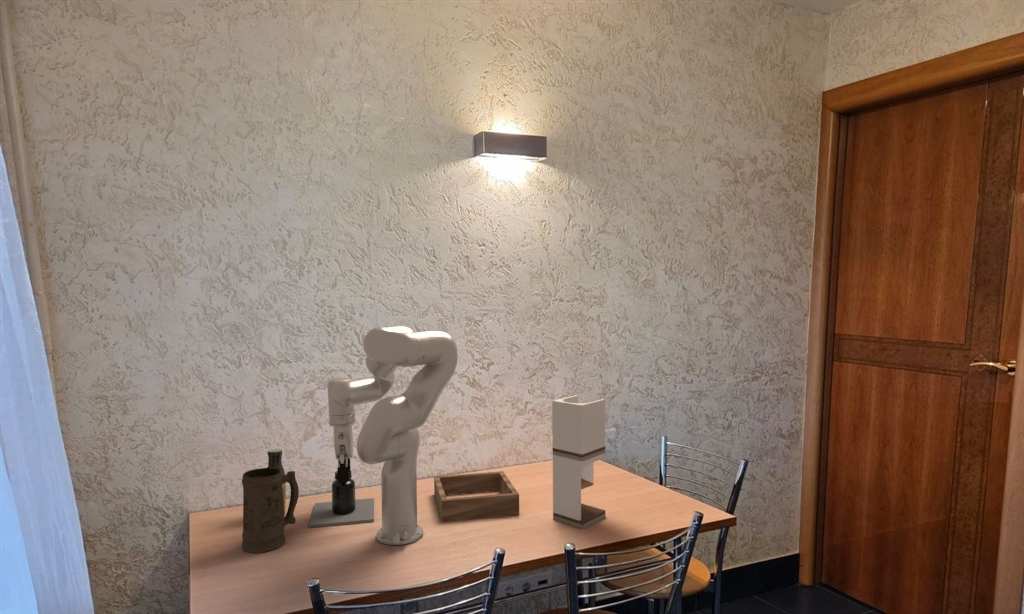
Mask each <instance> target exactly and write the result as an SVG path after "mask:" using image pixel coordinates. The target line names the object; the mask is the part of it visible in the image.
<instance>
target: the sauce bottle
mask: <svg viewBox="0 0 1024 614" xmlns="http://www.w3.org/2000/svg"><path fill="white" fill-rule="evenodd" d="M282 455H283V450H282V448H273V449H269V450H268V451H267V457H268V464H267V467H266V468H277V469H280V470H281V472H282V476H284V475H286V472H285V469H284V467H283V462H282ZM286 483H287V482H285V483H284V484H283V485H282V491H283V495H284V515H286V504H287V503H286V498H287V496H286V495H287V494H286V491H287V490H286V488H287V487H286Z"/></svg>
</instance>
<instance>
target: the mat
mask: <svg viewBox="0 0 1024 614" xmlns="http://www.w3.org/2000/svg"><path fill="white" fill-rule="evenodd" d="M374 519H375V498H374V497H372V498H370V497H369V498H360V499H355V510H354V511H353V512H352V513H349V514H345V515H337V514H334V513H333V512H332V501H326V502H315V503H314V507H313V511H312V514H311V517H310V521H309V526H308V527H309V529H310V528H311V527H314V528H321V527H320V526H325V527H333V526H332V525H335V526H341V525H340V524H346V525H353V524H352V523H357V524H366V523H365V522H367V523H374V522H375V521H374ZM350 523H351V524H350ZM311 529H312V528H311Z"/></svg>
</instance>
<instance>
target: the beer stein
mask: <svg viewBox="0 0 1024 614" xmlns="http://www.w3.org/2000/svg"><path fill="white" fill-rule="evenodd" d="M285 482H286V483H288V484H289V486H290V487H289V488H290V496H289V497H290V498H289V503H288V509H287V511H286V513H285V514H284V495H283V491H282V485H283V484H284V483H285ZM241 484H242V488H243V489H242V490H243V492H242V493H243V494H242V495H243V498H242V501H243V504H242V505H243V507H242V525H243V526H242V536H241V537H242V543H241V548H242V550H243V551H245V552H247V553H251V554H252V553H253V554H256V553H257V554H261V553H267V551H268V552H270V551H274V550H277V549H279V548H280V547H282V546H283V545H284V544H285V543H286V537H285V527H286V526H288V525H295V524H296V522H297V521H296V517H295V515H294V512H295V509H296V506H297V504H298V501H299V494H300V493H299V486H298V485H299V484H298V482H297V479H296V472H295V470H292V471H291V470H289V471H287V473H285V475H284V476H282V472H281V470H280V469H277V468H267V467H261V468H255V469H251V470H247V471H245V472H244V473H243V474H242V478H241ZM276 548H277V549H276Z"/></svg>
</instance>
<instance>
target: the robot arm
mask: <svg viewBox="0 0 1024 614" xmlns="http://www.w3.org/2000/svg"><path fill="white" fill-rule="evenodd" d="M362 343H363V344H362V345H363V350H364V354H366V358H365V365H366V368H367V369H368V371H369V372H370V374H372V375H371V376H367V377H359V378H354V379H351V378H350V377H338V378H337V377H336V378H332V379H329V381H328V382H327V399H328V400H327V401H328V402H327V403H328V425H329V427H333V444H334V445H333V446H334V453H335V459H336V460H337V470H336V471H337V472H338V481H346V480H349V470H351V459H353V457H354V439H353V438H354V437H353V436H354V435H353V433H354V432H353V426H352V425H354V424H356V415H355V414H356V412H355V410H356V409H355V406H358V405H361V404H367V403H369V404H370V403H373V402H375V404H373V406H372V408H371V410H370V411H369V413H368V414H367V417H366V419H365V421H364V423H363V425H362V427H361V429H360V432H359V434H358V437H357V441H356V453H357V455H358V457H359V459H360V461H362V462H363V463H365V464H367V465H375V464H381V463H383V464H382V465H383V466H382V469H381V474H380V475H381V481H380V482H381V485H380V487H381V488H380V489H381V491H380V492H381V528H380V529H378V530H377V532H376V537H375V538H376V540H377V541H378V542H379V543H381V544H383V545H388V546H389V545H391V546H401V545H408V544H411V543H414V542H416V541H418V540H420V539H421V538H422V537H423V535H424V529H423V527H421V526H420V525H419V524H418V495H417V494H418V491H417V490H418V489H417V487H418V485H417V482H418V480H417V479H418V478H417V476H418V475H417V474H418V473H417V470H418V469H417V465H418V453H419V449H420V443H421V436H420V432H419V428H420V427H422V426H424V425H425V423H426V422H427V421H428V419H429V417H430V416H431V414H432V411H433V409H434V408H435V406H436V404H437V402H438V401H439V398H440V396H441V394H442V392H443V391H444V390H445V388H446V387H447V385H448V383H449V382H450V380H451V379H452V377H453V375H454V374H455V371H456V368H457V364H458V356H459V355H458V347H457V344H456V341H455V339H454V338H453V337H452V336H451V335H450V334H448V333H447V332H444V331H442V330H425V331H415V332H414V330H412V328H410V327H408V326H405V325H389V326H377V327H374V328H371V329H370V330H368V332H367V333H366V334H365V336H364V339H363V342H362ZM417 366H423V367H421V369H420V370H419V371H417V372H416V374H415V375H414V376H413V377H412V379H411V380H410V383H409V384H408V386H407V388H406V390H405V391H404V392H402V393H400V394H398V395H393V396H389V397H385V395H387V393H389V391H390V390H391V389H392V387H393V386H394V384H395V383H394V382H395V371H396V370H397V369H398V368H399V367H400V368H407V367H408V368H410V367H417ZM351 471H352V470H351Z"/></svg>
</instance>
